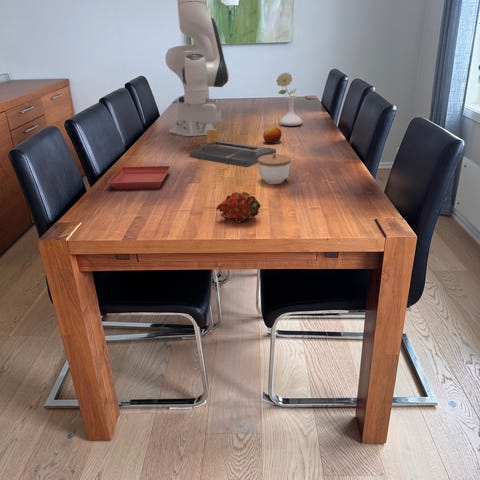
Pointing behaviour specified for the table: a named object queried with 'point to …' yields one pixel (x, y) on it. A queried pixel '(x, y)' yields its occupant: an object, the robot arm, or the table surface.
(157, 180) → the plant saucer
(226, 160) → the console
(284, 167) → the lidded jar
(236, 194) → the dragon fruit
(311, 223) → the table surface
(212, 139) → the block
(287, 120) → the flower in vase
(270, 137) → the fruit
